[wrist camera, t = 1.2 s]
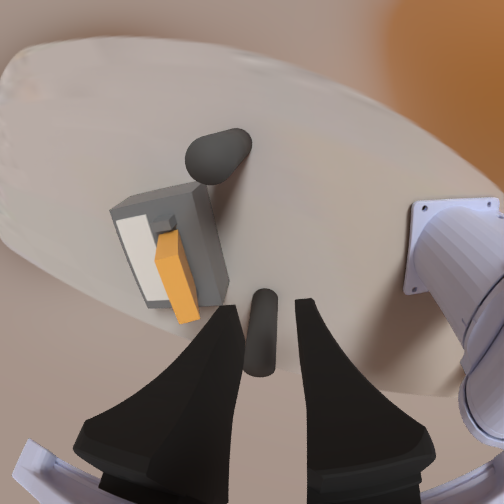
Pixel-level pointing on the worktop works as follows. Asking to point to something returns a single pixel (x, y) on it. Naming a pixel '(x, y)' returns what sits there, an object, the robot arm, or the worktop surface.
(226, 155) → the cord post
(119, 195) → the worktop surface
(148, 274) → the breaker box
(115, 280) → the worktop surface
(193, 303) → the breaker paddle
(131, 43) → the worktop surface
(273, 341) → the cylinder
